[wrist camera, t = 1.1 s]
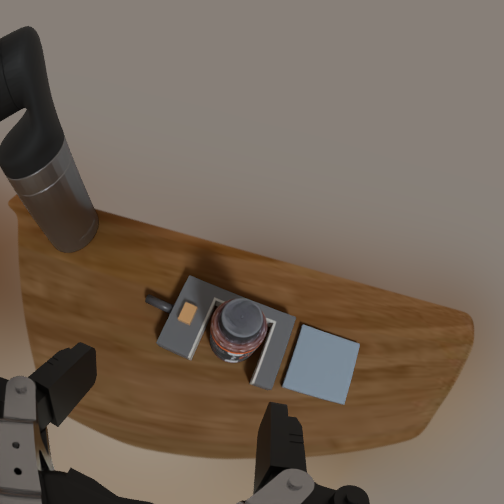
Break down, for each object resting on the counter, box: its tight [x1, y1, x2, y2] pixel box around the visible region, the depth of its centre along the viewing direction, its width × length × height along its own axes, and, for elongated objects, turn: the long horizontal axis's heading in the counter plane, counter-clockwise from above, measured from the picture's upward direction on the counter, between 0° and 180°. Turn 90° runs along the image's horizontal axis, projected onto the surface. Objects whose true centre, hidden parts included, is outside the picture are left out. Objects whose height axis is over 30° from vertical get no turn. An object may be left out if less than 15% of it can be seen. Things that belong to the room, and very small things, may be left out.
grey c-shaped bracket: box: [145, 275, 296, 390], centre depth 36 cm, size 19×10×3 cm, turn 70°
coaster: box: [282, 324, 360, 404], centre depth 36 cm, size 9×9×1 cm
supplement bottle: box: [210, 298, 267, 363], centre depth 32 cm, size 6×6×11 cm
